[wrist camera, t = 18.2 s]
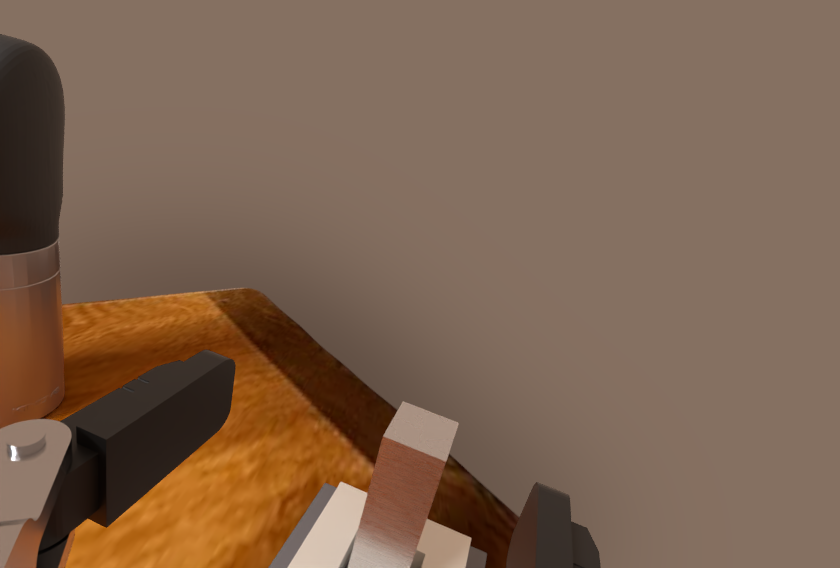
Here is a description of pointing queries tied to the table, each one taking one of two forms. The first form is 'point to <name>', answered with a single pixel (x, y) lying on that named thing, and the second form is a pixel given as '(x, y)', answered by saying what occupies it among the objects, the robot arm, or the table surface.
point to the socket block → (337, 528)
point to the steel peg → (402, 488)
